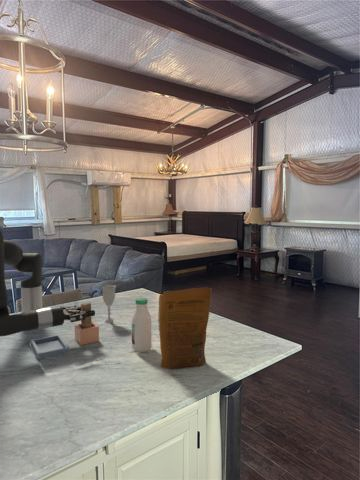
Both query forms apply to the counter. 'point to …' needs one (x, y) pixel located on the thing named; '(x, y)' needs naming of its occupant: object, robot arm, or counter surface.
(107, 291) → the chalice
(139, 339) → the milk bottle
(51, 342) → the slate tray
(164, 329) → the pancake mix bag
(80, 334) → the terracotta cup
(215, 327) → the counter surface
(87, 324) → the walnut dowel
